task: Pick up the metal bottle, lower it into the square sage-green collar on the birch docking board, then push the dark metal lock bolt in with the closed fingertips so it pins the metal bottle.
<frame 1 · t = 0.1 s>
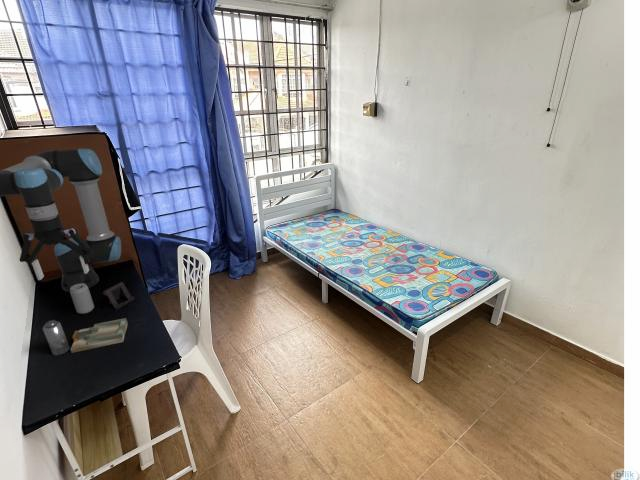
hand: (64, 275, 115), 28 cm above the table, fingers open, 13 cm apart
dark hollow square block: (120, 303, 149), on the table
lock bolt: (82, 334, 124), point 3 cm above the table, slide at 0.0 cm
dock mount: (100, 337, 127), on the table
beverage can: (86, 310, 144), on the table
metal bottle: (61, 350, 120), on the table
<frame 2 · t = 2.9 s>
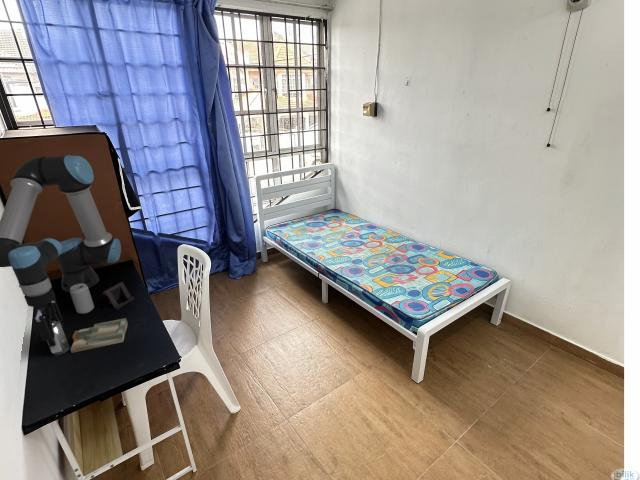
hand: (59, 346, 120), 2 cm above the table, fingers closed on metal bottle, 5 cm apart
metal bottle: (61, 350, 120), on the table, touching gripper
everything else where it was.
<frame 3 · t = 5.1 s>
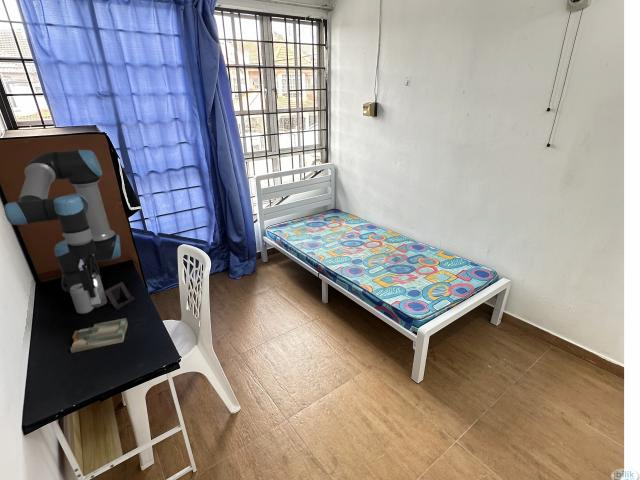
hand: (98, 299, 121), 17 cm above the table, fingers closed on metal bottle, 5 cm apart
metal bottle: (99, 303, 122), point 15 cm above the table, touching gripper
everything else where it was.
when the fingers open (4 cm above the table, at t = 7.7 s): metal bottle stays where it is, resting on dock mount.
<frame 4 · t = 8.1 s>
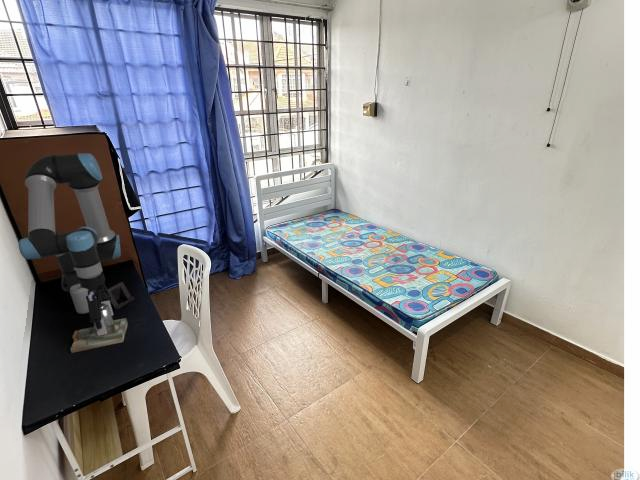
hand: (106, 324, 126), 5 cm above the table, fingers open, 11 cm apart
metal bottle: (108, 332, 127), point 1 cm above the table, touching dock mount
everything else where it was.
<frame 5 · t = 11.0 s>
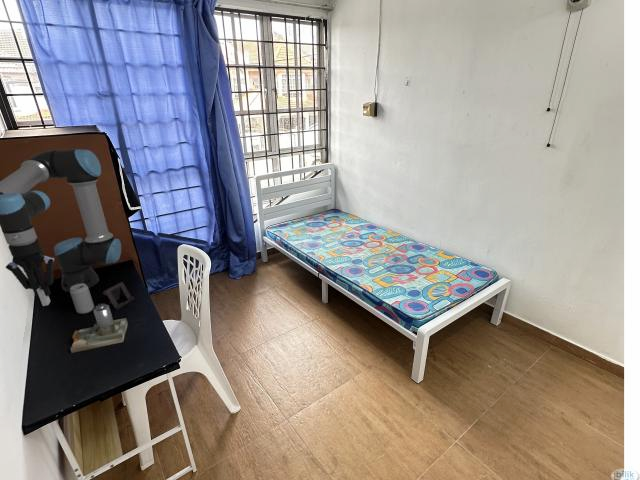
hand: (46, 303, 116), 18 cm above the table, fingers closed
nothing on the table moved.
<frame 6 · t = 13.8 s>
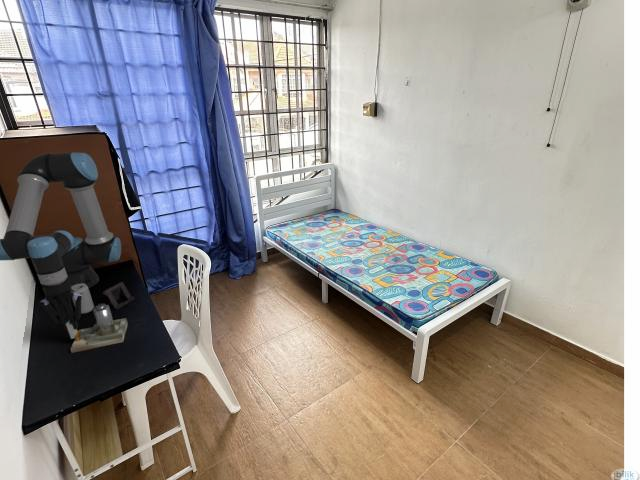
hand: (74, 336, 123), 3 cm above the table, fingers closed
lock bolt: (84, 334, 124), point 3 cm above the table, slide at 0.8 cm, touching gripper
everything else where it was.
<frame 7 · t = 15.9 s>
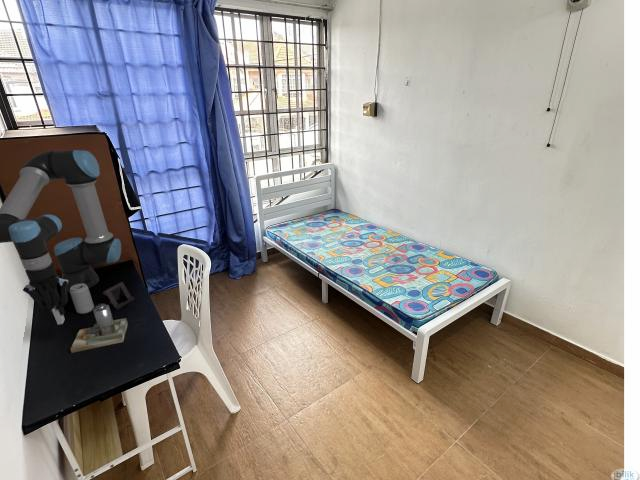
hand: (61, 322, 122), 9 cm above the table, fingers closed
lock bolt: (91, 332, 125), point 3 cm above the table, slide at 3.0 cm
everything else where it was.
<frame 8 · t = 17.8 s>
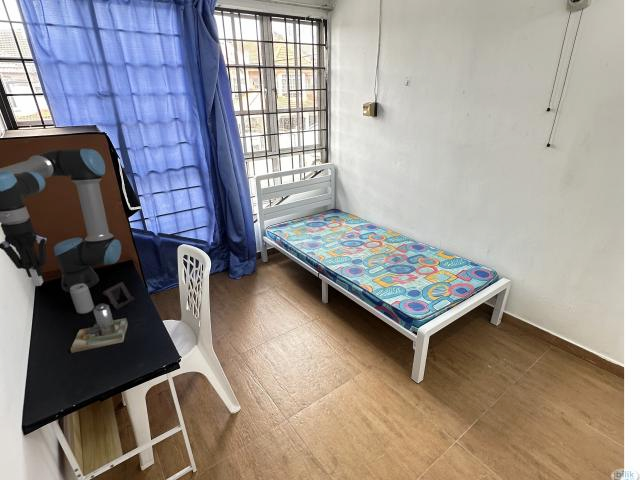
hand: (39, 283, 116), 24 cm above the table, fingers closed
nothing on the table moved.
at the end: metal bottle 0.0 cm from the target spot on the dock mount, point 1.5 cm above the dock mount's base; metal bottle tilted 0°; lock bolt slide at 3.0 cm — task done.
